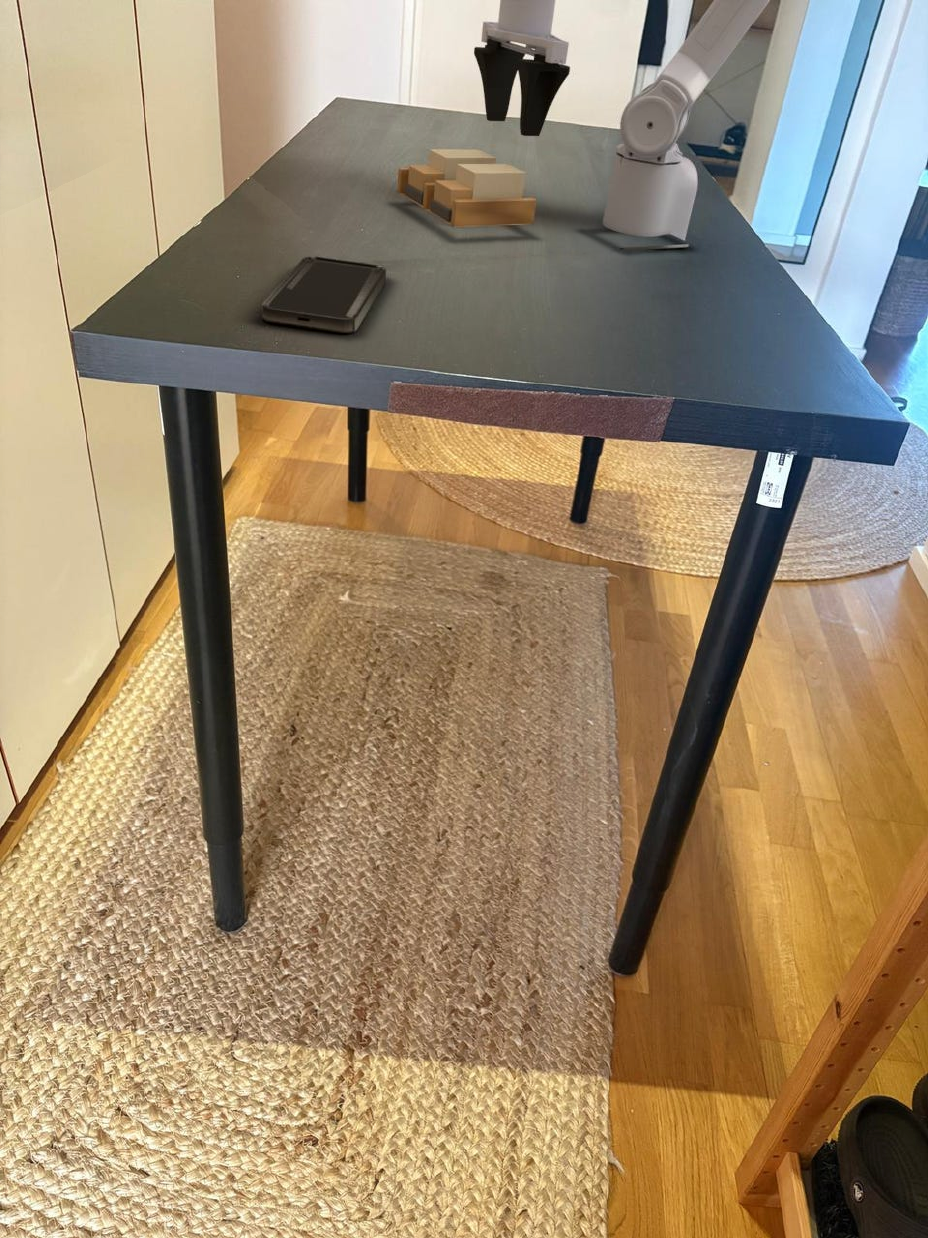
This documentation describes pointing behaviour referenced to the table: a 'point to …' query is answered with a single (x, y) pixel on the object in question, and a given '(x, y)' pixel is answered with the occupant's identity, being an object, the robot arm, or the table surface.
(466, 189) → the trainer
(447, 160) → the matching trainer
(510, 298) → the table surface
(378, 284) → the phone
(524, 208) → the wooden compartment tray
